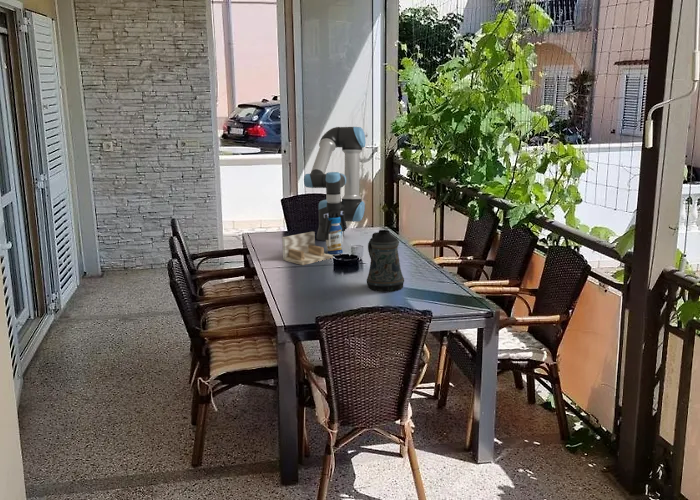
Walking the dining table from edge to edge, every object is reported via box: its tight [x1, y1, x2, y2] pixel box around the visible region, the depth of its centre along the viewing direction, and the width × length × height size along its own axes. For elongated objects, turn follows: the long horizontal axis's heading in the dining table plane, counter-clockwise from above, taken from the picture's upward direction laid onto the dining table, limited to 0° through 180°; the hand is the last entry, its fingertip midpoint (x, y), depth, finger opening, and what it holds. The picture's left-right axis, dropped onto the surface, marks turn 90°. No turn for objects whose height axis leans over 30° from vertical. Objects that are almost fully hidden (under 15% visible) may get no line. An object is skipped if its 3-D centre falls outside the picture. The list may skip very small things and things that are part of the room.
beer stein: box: [366, 229, 405, 293], centre depth 299 cm, size 16×19×25 cm
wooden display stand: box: [281, 231, 333, 266], centre depth 353 cm, size 20×16×12 cm
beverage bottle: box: [326, 217, 344, 256], centre depth 362 cm, size 8×8×20 cm
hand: (334, 244), depth 363 cm, fingers closed on beverage bottle, 8 cm apart
